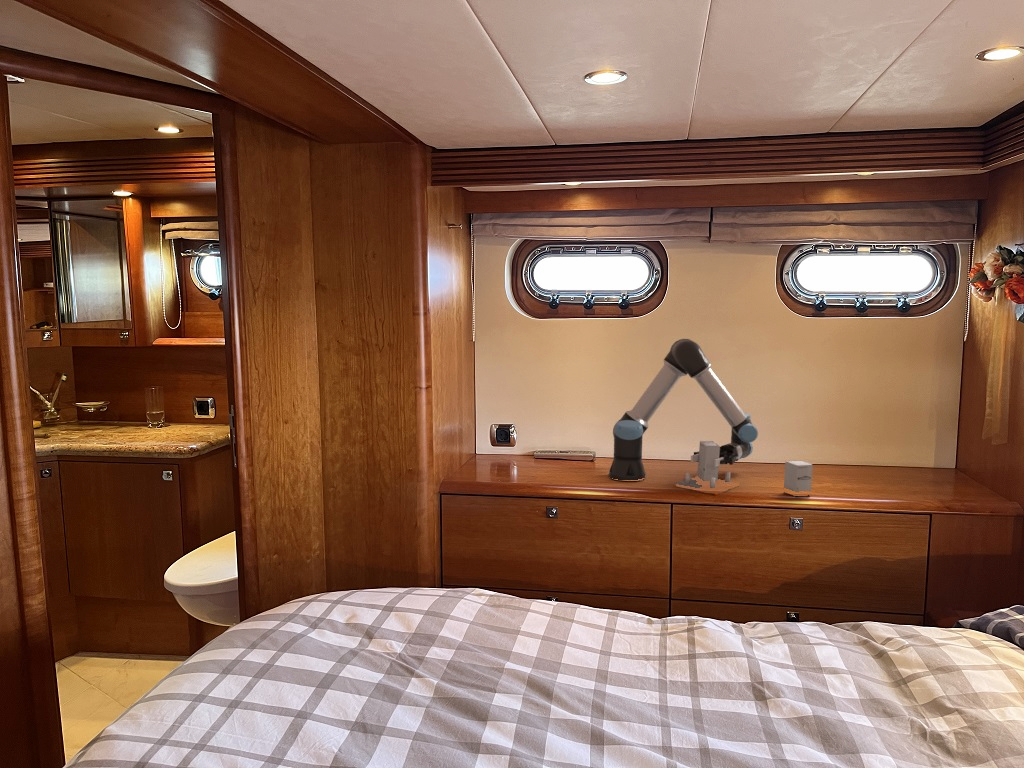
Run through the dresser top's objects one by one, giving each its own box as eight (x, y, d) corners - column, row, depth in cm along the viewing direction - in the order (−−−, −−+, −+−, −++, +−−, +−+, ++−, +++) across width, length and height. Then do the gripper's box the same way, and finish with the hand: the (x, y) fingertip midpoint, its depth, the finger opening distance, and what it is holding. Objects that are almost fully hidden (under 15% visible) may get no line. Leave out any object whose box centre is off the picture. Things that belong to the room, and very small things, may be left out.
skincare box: (696, 476, 302) (698, 440, 300) (711, 476, 303) (712, 440, 301) (704, 481, 294) (705, 444, 292) (719, 481, 294) (720, 444, 293)
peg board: (674, 486, 297) (675, 473, 297) (699, 478, 312) (699, 465, 311) (716, 495, 285) (717, 481, 284) (739, 485, 300) (740, 472, 299)
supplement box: (794, 497, 283) (796, 465, 281) (782, 492, 290) (784, 461, 288) (811, 496, 285) (813, 464, 283) (799, 491, 292) (801, 460, 290)
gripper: (754, 466, 303) (729, 475, 287) (704, 457, 318) (678, 466, 302) (755, 447, 303) (729, 456, 286) (705, 440, 317) (678, 447, 301)
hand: (703, 461), depth 294 cm, fingers closed on skincare box, 9 cm apart
